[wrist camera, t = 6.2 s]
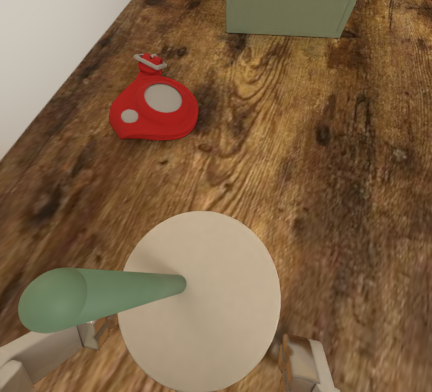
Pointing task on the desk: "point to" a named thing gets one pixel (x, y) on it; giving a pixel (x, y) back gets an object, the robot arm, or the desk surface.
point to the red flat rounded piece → (153, 105)
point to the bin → (288, 17)
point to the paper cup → (175, 301)
